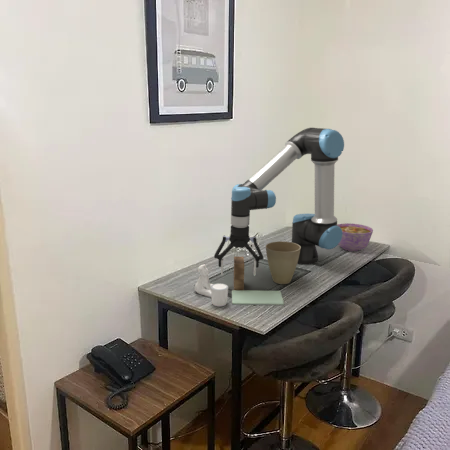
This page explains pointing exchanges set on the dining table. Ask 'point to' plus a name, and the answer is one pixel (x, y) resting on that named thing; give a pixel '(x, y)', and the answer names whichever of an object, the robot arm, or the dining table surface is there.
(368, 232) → the bowl of food
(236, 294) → the mat
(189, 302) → the dining table surface
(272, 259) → the plant pot
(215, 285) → the white mug
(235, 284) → the walnut slab
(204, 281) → the seated beast figurine
